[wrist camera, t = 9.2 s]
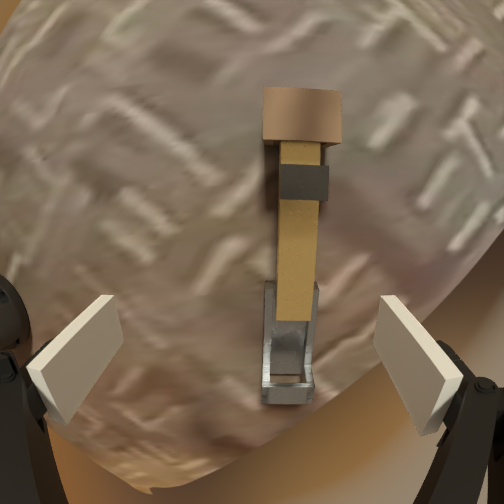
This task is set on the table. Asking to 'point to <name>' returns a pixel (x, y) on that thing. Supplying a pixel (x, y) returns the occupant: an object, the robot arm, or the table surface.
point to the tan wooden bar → (298, 227)
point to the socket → (302, 115)
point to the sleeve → (287, 352)
